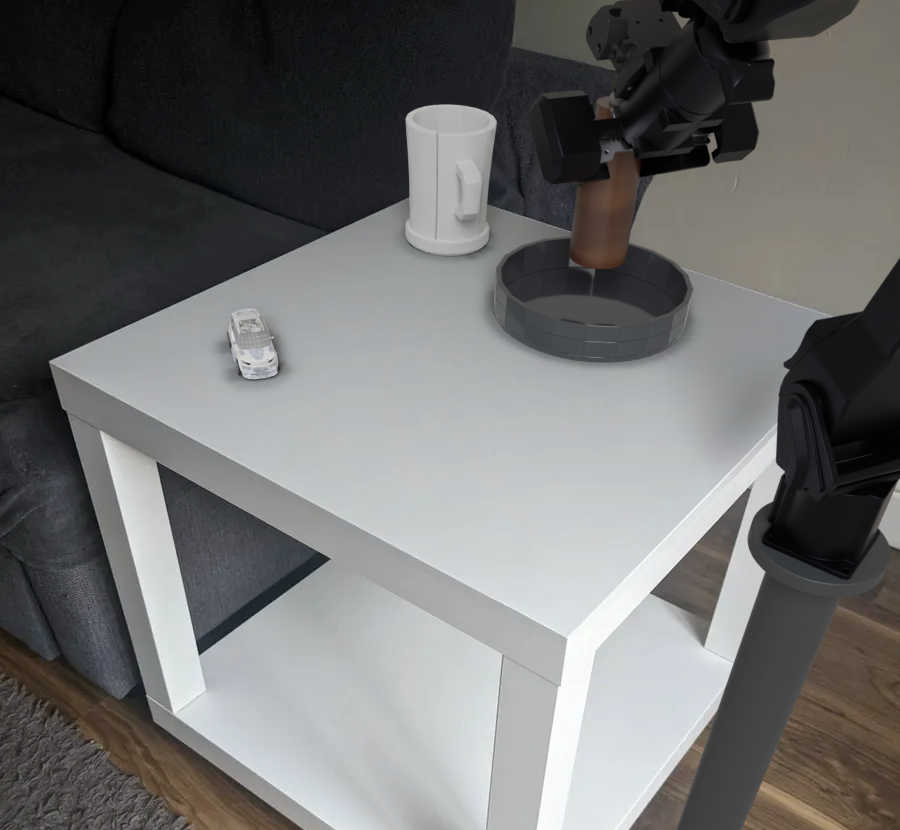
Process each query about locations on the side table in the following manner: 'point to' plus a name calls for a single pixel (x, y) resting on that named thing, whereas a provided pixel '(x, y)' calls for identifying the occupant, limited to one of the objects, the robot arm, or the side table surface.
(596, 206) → the pepper mill
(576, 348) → the pan
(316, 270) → the side table surface
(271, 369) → the toy car
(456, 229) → the cup
